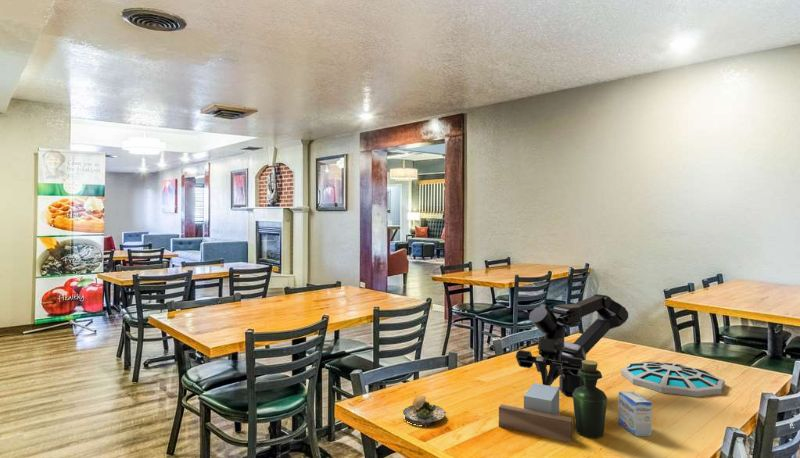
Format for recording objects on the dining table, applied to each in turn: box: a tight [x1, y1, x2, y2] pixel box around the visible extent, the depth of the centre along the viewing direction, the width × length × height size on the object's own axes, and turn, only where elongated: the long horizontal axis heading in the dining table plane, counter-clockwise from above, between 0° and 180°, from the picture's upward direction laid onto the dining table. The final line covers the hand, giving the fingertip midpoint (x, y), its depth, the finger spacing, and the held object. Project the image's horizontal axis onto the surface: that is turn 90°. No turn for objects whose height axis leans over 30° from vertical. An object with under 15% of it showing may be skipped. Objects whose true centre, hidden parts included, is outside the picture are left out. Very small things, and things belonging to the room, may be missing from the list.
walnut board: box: [498, 404, 574, 443], centre depth 117 cm, size 2×18×5 cm, turn 60°
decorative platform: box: [620, 360, 726, 398], centre depth 156 cm, size 31×29×5 cm
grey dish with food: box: [402, 392, 447, 427], centre depth 126 cm, size 12×12×8 cm
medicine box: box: [617, 390, 653, 437], centre depth 118 cm, size 8×4×9 cm, turn 5°
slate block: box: [523, 383, 560, 415], centre depth 123 cm, size 11×7×8 cm, turn 151°
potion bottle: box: [572, 359, 608, 439], centre depth 116 cm, size 8×8×18 cm
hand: (545, 389), depth 128 cm, fingers closed, pressing on slate block
